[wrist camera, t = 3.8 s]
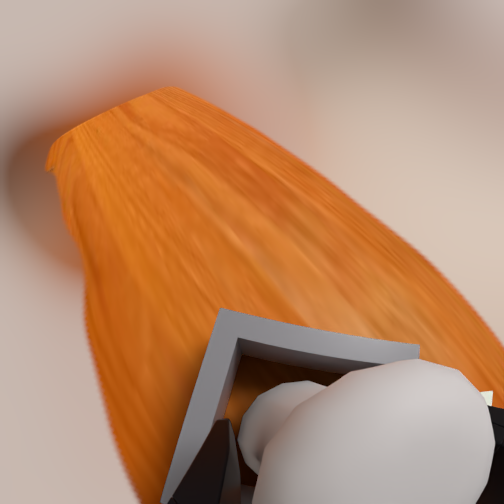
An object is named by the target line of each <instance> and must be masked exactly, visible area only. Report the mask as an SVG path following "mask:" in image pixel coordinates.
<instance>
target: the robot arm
mask: <svg viewBox="0 0 504 504" xmlns="http://www.w3.org/2000/svg"><path fill="white" fill-rule="evenodd" d="M487 406H488V409H489V414H490V418H491V423H492V428H493V434H494V439H495V447H494V453H493V459H492V464H491V469H490V473H489V478H488V482H487V484H486V486H485V488H484V490H483V492H482V493H481V495H480V497H479V499H478V500H477V502H476V504H504V409H502V408H497V407H493V406H489V405H487ZM172 497H173V498H172ZM172 497H171V498H170V499H169V501H168V503H167V504H241V480H240V469H239V463H238V456H237V449H236V443H235V436H234V432H233V429H232V426H231V422H230V420H229V419H218V420H216V421H215V423H214V425H213V427H212V428H211V430H210V432H209V434H208V436H207V437H206V439H205V441H204V443H203V444H202V446H201V448H200V450H199V451H198V453H197V455H196V457H195V458H194V460H193V462H192V463H191V465H190V467H189V468H188V470H187V472H186V474H185V475H184V477H183V479H182V480H181V482H180V483H179V485H178V487H177V488H176V490H175V492H174V493H173V495H172Z"/></svg>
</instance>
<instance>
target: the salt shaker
mask: <svg viewBox="0 0 504 504" xmlns="http://www.w3.org/2000/svg"><path fill="white" fill-rule="evenodd" d="M237 441H238V444H239V446H240V449H241V452H242V455H243V458H244V461H245V463H246V464H247V465H248V466H249V467H250V468H251V469H252V470H253V471H254V472H255V473H256V474H257V475H258V479H257V483H256V487H255V491H254V495H253V499H252V504H476V502H477V500H478V499H479V497H480V495H481V493H482V492H483V490H484V488H485V486H486V484H487V482H488V478H489V473H490V469H491V464H492V459H493V453H494V447H495V439H494V434H493V428H492V423H491V418H490V414H489V409H488V406H487V404H486V401H485V398H484V397H483V396H482V394H481V393H480V392H479V391H478V390H477V389H476V388H475V387H474V386H473V385H472V384H471V383H470V382H469V381H468V379H467V378H466V377H465V376H464V375H463V374H462V373H461V372H460V371H459V370H457V369H453V368H449V367H446V366H442V365H438V364H435V363H431V362H428V361H424V360H421V359H411V360H402V361H396V362H392V363H388V364H384V365H380V366H376V367H371V368H366V369H362V370H357V371H351V372H349V373H347V374H346V375H345V376H343V377H342V378H340V379H339V380H337V381H336V382H334V383H333V384H331V385H329V386H328V387H326V386H323V385H320V384H317V383H314V382H311V381H308V380H307V381H299V382H291V383H282V384H280V385H278V386H276V387H274V388H272V389H270V390H268V391H266V392H264V393H262V394H260V395H258V397H257V398H256V399H255V401H254V402H253V403H252V405H251V406H250V407H249V409H248V410H247V411H246V413H245V414H244V415H243V418H242V422H241V426H240V431H239V435H238V439H237Z"/></svg>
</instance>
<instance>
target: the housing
mask: <svg viewBox="0 0 504 504" xmlns="http://www.w3.org/2000/svg"><path fill="white" fill-rule="evenodd" d="M419 351H420V345H417V344H408V343H400V342H393V341H386V340H379V339H372V338H365V337H359V336H353V335H347V334H341V333H335V332H330V331H324V330H319V329H314V328H308V327H303V326H298V325H293V324H289V323H284V322H279V321H275V320H270V319H266V318H261V317H257V316H252V315H248V314H244V313H240V312H236V311H232V310H228V309H224V308H220V310H219V313H218V316H217V319H216V322H215V325H214V328H213V331H212V334H211V338H210V341H209V344H208V347H207V350H206V353H205V356H204V359H203V362H202V366H201V369H200V372H199V375H198V378H197V381H196V385H195V388H194V391H193V394H192V397H191V401H190V404H189V407H188V410H187V413H186V417H185V420H184V423H183V426H182V430H181V433H180V436H179V440H178V443H177V446H176V449H175V453H174V456H173V459H172V463H171V466H170V469H169V473H168V476H167V480H166V483H165V486H164V490H163V493H162V497H161V500H160V503H162V504H167V503H168V501H169V499H170V498H171V497H172V495H173V493H174V492H175V490H176V488H177V487H178V485H179V483H180V482H181V480H182V479H183V477H184V475H185V474H186V472H187V470H188V468H189V467H190V465H191V463H192V462H193V460H194V458H195V457H196V455H197V453H198V451H199V450H200V448H201V446H202V444H203V443H204V441H205V439H206V437H207V436H208V434H209V432H210V430H211V428H212V427H213V425H214V423H215V421H216V420H218V419H223V418H224V415H225V411H226V408H227V404H228V401H229V398H230V394H231V391H232V387H233V384H234V380H235V377H236V373H237V370H238V366H239V363H240V359H241V356H242V354H243V355H247V356H251V357H255V358H259V359H264V360H268V361H273V362H277V363H282V364H287V365H292V366H297V367H302V368H308V369H314V370H319V371H326V372H332V373H339V374H347V373H349V372H351V371H357V370H362V369H366V368H371V367H376V366H380V365H384V364H388V363H392V362H396V361H402V360H411V359H419ZM254 491H255V487H253V486H248V485H243V484H241V504H252V499H253V495H254ZM172 498H173V497H172Z"/></svg>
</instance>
